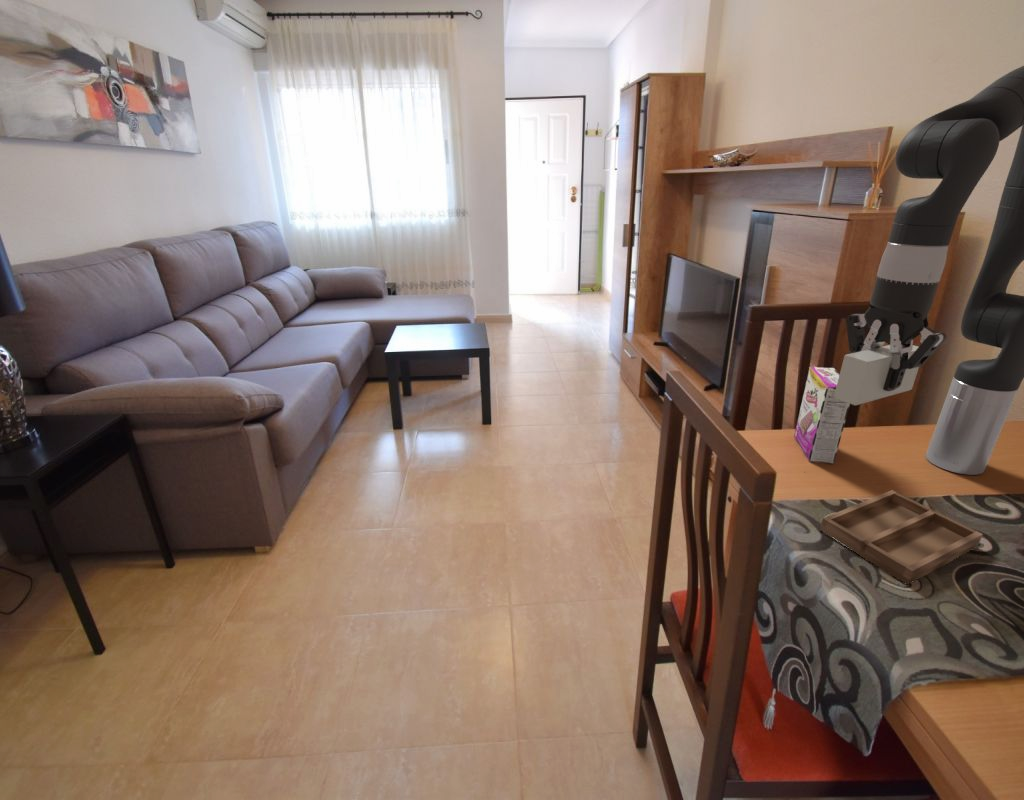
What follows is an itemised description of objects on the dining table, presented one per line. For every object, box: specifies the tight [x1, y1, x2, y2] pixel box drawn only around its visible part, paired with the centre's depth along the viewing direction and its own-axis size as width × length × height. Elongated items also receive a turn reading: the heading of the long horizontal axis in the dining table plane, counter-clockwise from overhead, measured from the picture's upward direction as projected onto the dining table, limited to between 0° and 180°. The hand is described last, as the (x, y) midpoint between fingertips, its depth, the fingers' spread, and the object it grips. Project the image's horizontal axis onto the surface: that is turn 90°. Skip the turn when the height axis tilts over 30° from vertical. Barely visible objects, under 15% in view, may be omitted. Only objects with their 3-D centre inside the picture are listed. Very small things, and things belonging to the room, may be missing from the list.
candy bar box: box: [793, 366, 851, 465], centre depth 106 cm, size 11×5×16 cm, turn 168°
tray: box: [819, 489, 983, 585], centre depth 82 cm, size 18×13×2 cm
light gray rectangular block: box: [834, 344, 920, 406], centre depth 82 cm, size 14×4×7 cm, turn 115°
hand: (875, 384), depth 83 cm, fingers closed on light gray rectangular block, 3 cm apart
